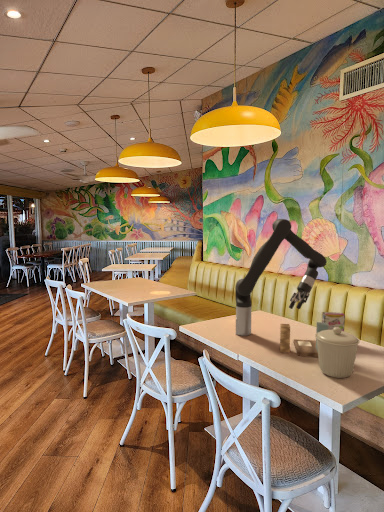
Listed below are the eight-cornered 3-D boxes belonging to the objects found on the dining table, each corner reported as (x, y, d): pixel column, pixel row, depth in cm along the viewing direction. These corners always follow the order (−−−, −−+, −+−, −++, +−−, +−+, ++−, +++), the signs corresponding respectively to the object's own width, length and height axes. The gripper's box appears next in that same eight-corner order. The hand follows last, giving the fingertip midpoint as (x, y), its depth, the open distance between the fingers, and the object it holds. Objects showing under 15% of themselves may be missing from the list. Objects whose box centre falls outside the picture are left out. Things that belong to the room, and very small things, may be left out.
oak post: (280, 352, 171) (281, 326, 170) (279, 349, 176) (280, 323, 174) (289, 353, 170) (290, 326, 169) (288, 349, 175) (289, 324, 173)
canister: (305, 370, 150) (307, 326, 148) (328, 361, 161) (330, 318, 158) (343, 386, 135) (345, 337, 133) (366, 375, 146) (368, 328, 144)
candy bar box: (323, 342, 185) (324, 314, 183) (320, 339, 190) (321, 311, 188) (344, 343, 184) (345, 314, 182) (341, 339, 189) (342, 312, 187)
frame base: (297, 355, 167) (298, 325, 165) (293, 342, 185) (294, 314, 183) (331, 357, 164) (332, 326, 163) (323, 344, 182) (324, 316, 180)
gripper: (294, 282, 201) (282, 305, 197) (307, 280, 187) (295, 305, 184) (304, 288, 202) (292, 311, 198) (318, 287, 188) (305, 312, 184)
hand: (294, 308), depth 191 cm, fingers open, 8 cm apart
